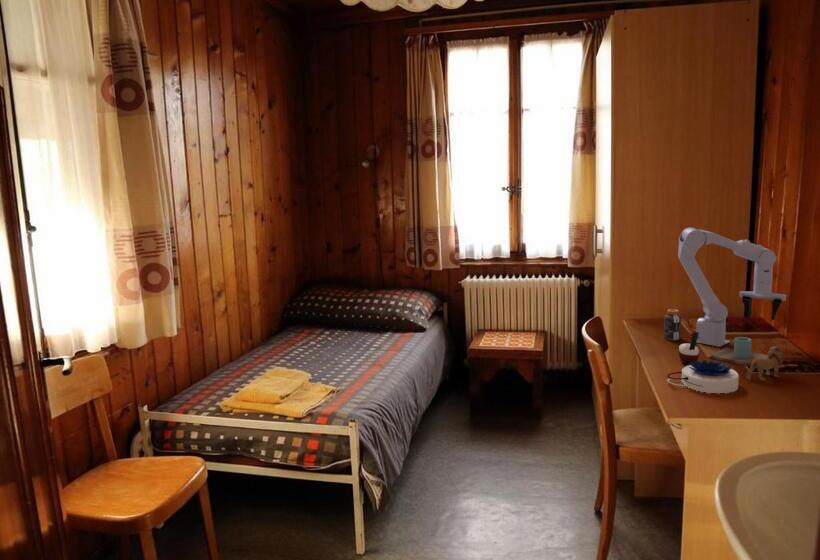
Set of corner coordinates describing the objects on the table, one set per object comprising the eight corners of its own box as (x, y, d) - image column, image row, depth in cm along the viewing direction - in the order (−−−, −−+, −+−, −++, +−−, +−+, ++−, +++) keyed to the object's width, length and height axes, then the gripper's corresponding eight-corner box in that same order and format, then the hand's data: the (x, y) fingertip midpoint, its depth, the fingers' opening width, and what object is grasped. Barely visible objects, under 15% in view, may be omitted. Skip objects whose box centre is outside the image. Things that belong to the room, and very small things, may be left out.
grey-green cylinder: (731, 356, 208) (732, 339, 206) (737, 352, 211) (738, 336, 210) (746, 359, 204) (747, 342, 203) (753, 355, 207) (754, 338, 206)
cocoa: (679, 357, 212) (680, 324, 210) (699, 359, 209) (700, 325, 207) (677, 366, 204) (678, 331, 202) (698, 368, 201) (699, 332, 199)
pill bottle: (682, 340, 231) (683, 311, 229) (665, 340, 232) (666, 311, 230) (678, 336, 237) (679, 308, 235) (662, 336, 238) (663, 308, 236)
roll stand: (710, 358, 210) (710, 344, 209) (726, 350, 217) (726, 336, 216) (759, 368, 198) (760, 353, 197) (774, 359, 205) (775, 345, 204)
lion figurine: (769, 370, 196) (771, 343, 194) (786, 374, 191) (788, 347, 189) (741, 380, 189) (743, 352, 187) (758, 385, 184) (760, 356, 182)
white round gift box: (728, 355, 192) (661, 355, 195) (747, 372, 177) (674, 372, 180) (727, 376, 193) (661, 376, 196) (746, 394, 178) (673, 394, 181)
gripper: (737, 281, 221) (736, 318, 223) (783, 285, 211) (781, 322, 214) (742, 278, 226) (741, 313, 228) (788, 281, 216) (785, 318, 219)
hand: (761, 318), depth 221 cm, fingers open, 7 cm apart
